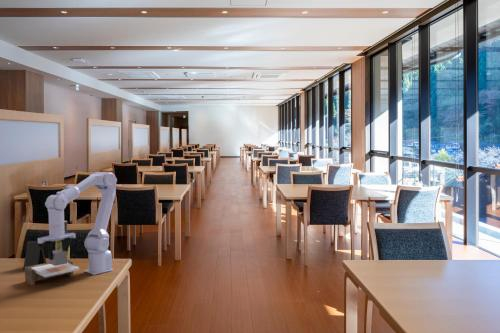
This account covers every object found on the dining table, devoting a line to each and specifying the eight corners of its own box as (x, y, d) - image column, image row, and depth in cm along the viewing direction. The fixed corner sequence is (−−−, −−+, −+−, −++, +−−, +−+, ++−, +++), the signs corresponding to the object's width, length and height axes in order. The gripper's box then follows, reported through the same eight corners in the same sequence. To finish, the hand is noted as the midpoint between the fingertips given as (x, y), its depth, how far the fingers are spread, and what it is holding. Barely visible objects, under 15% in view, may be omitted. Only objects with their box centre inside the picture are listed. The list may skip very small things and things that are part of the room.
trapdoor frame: (65, 272, 201) (65, 259, 200) (73, 276, 196) (72, 262, 195) (25, 281, 189) (24, 267, 188) (32, 285, 184) (31, 270, 183)
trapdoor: (30, 270, 188) (30, 267, 188) (64, 263, 198) (64, 260, 198) (44, 277, 178) (44, 274, 178) (79, 269, 188) (79, 267, 188)
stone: (61, 261, 189) (61, 249, 189) (67, 263, 185) (66, 251, 185) (49, 263, 185) (49, 251, 185) (54, 265, 182) (54, 253, 182)
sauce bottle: (56, 265, 213) (54, 222, 212) (54, 262, 219) (53, 220, 218) (71, 263, 216) (69, 221, 215) (69, 260, 222) (68, 219, 221)
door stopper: (35, 270, 206) (34, 243, 205) (23, 269, 206) (22, 243, 206) (46, 264, 215) (45, 239, 214) (34, 264, 215) (33, 239, 215)
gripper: (42, 228, 177) (43, 263, 178) (78, 223, 187) (79, 256, 188) (35, 226, 182) (36, 260, 182) (70, 221, 192) (71, 253, 193)
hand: (57, 258), depth 185 cm, fingers closed on stone, 5 cm apart
